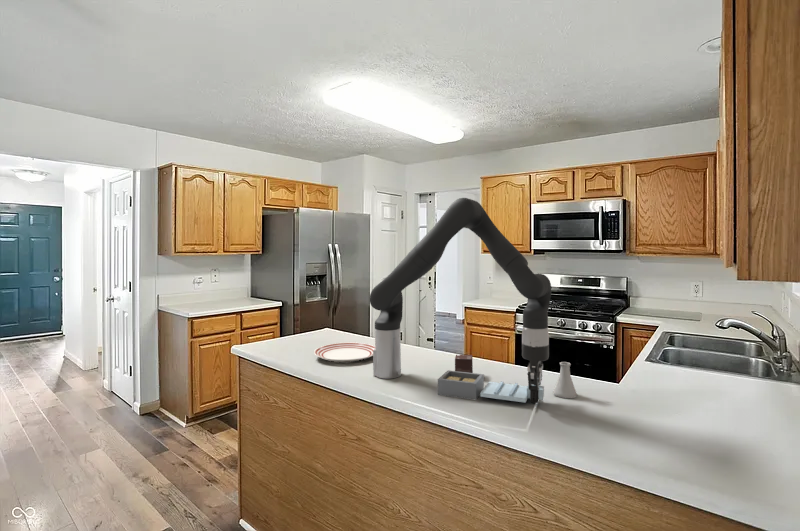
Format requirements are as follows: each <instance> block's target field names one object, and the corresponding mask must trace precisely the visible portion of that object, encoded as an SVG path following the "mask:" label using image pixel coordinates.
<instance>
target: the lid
mask: <svg viewBox="0 0 800 531" xmlns="http://www.w3.org/2000/svg"><path fill="white" fill-rule="evenodd" d="M528 386H529V385H521V384H519V383H518V382H515V383H514V384H513V383H504V381H500V382H496V381H495V382H494V381H488V382H487V383H486V385H484V389H483V390H482V391H481V394H480V397H481V398H489V399H496V400H503V401H511V402H517V403H518V402H519V403H527V400H528V399H530V390H529V388H528ZM532 386H536V385H532ZM544 397H545V386H544V385H539V391H538V400H539V401H543V400H544V399H545V398H544Z"/></svg>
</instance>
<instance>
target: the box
mask: <svg viewBox="0 0 800 531" xmlns="http://www.w3.org/2000/svg"><path fill="white" fill-rule="evenodd" d="M473 369H474V368H473V355H472V354H455V357H454V371H459V372H468V373H474V372H473Z"/></svg>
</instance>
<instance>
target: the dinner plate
mask: <svg viewBox="0 0 800 531" xmlns="http://www.w3.org/2000/svg"><path fill="white" fill-rule="evenodd" d="M374 349H375V345H373V344H369V343H364V342H350V341H349V342H336V343H329V344H324V345H322V346H319V347H317V348H315V349H314V350H313V354H314V355H315V356H316V357H318V358H319V359H323V360H326V361H329V362H331V361H334V362H333V363H339V362H346V363H354V362H353V361H356V362H360V361H359V360H361V361H364V360H367V359H369V358H372V357H373V350H374ZM363 359H364V360H363Z"/></svg>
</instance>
